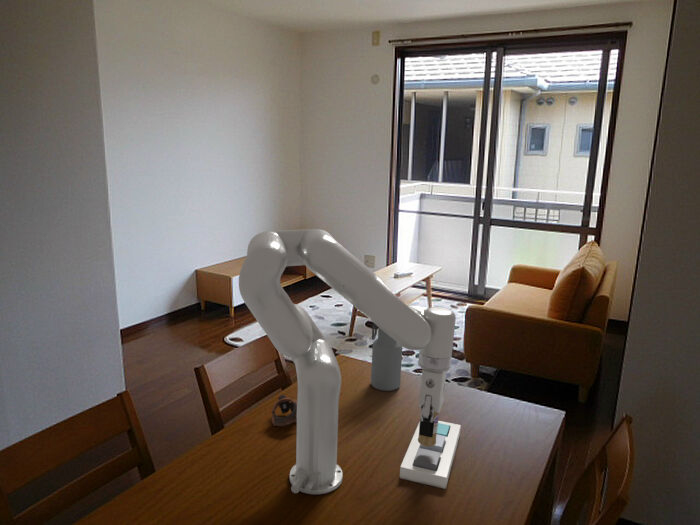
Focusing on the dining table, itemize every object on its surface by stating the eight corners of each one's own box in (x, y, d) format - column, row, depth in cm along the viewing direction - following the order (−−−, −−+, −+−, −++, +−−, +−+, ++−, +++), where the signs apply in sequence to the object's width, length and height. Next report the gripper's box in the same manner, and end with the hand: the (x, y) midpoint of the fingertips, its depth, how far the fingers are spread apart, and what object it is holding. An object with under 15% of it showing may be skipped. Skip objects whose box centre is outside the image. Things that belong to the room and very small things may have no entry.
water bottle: (366, 389, 168) (370, 307, 162) (372, 377, 178) (376, 298, 172) (398, 393, 166) (403, 310, 160) (401, 380, 176) (406, 301, 169)
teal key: (445, 443, 138) (446, 435, 137) (425, 439, 139) (426, 430, 139) (449, 433, 143) (449, 425, 142) (429, 429, 144) (430, 421, 144)
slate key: (441, 455, 130) (442, 446, 129) (420, 451, 132) (420, 442, 131) (444, 444, 135) (445, 436, 134) (424, 440, 137) (424, 431, 136)
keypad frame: (445, 489, 120) (446, 477, 120) (399, 477, 124) (400, 466, 123) (459, 434, 143) (460, 425, 143) (420, 426, 147) (421, 417, 146)
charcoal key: (435, 474, 122) (436, 464, 122) (413, 468, 124) (413, 459, 124) (439, 461, 127) (440, 452, 127) (417, 456, 129) (418, 447, 129)
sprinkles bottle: (432, 449, 123) (438, 397, 120) (414, 443, 125) (419, 392, 122) (438, 440, 127) (444, 390, 124) (421, 435, 129) (426, 385, 126)
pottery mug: (313, 426, 146) (305, 409, 141) (284, 445, 144) (275, 428, 139) (296, 398, 156) (287, 381, 150) (268, 416, 153) (259, 399, 148)
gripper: (446, 377, 112) (438, 452, 116) (454, 350, 128) (447, 417, 132) (412, 370, 115) (405, 445, 118) (424, 345, 130) (418, 411, 134)
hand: (427, 429), depth 125 cm, fingers closed on sprinkles bottle, 4 cm apart
